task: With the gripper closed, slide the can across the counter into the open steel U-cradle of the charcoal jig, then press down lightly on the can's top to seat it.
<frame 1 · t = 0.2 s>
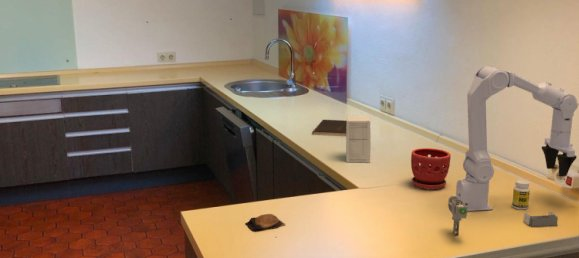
hand: (556, 172, 197), 10 cm above the worktop, tool pointing down, fingers open, 7 cm apart
mechanical component: (455, 235, 176), on the worktop
hardcover book: (334, 130, 292), on the worktop
jig: (536, 219, 185), on the worktop
beige miniature cabinet: (358, 159, 246), on the worktop
plant pot: (429, 185, 216), on the worktop
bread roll: (265, 226, 184), on the worktop
supplement bottle: (520, 207, 196), on the worktop
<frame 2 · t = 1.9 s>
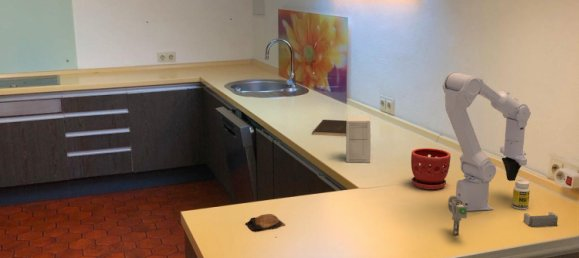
hand: (511, 180, 201), 6 cm above the worktop, tool pointing down, fingers closed
nothing on the worktop moved.
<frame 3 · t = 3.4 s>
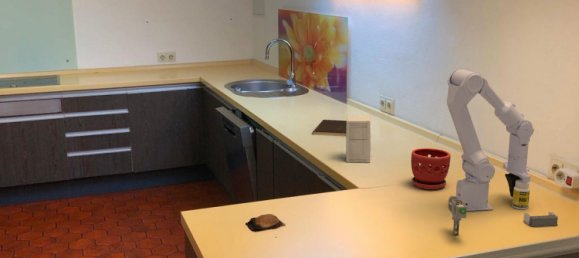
hand: (514, 196, 199), 2 cm above the worktop, tool pointing down, fingers closed
supplement bottle: (520, 207, 196), on the worktop, touching gripper
everything else where it was.
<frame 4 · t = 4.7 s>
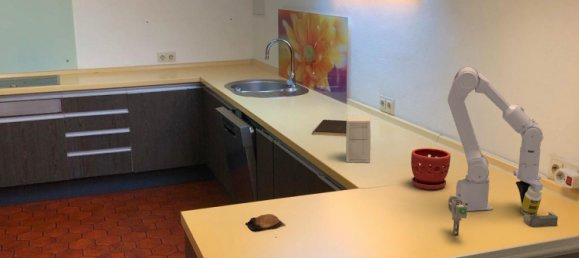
hand: (525, 204, 192), 2 cm above the worktop, tool pointing down, fingers closed
supplement bottle: (528, 211, 190), on the worktop, touching gripper
everything else where it was.
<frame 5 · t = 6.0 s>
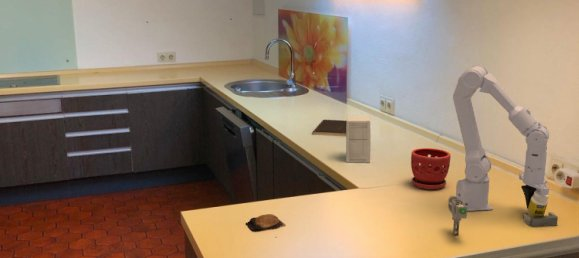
hand: (530, 209, 189), 2 cm above the worktop, tool pointing down, fingers closed
supplement bottle: (534, 216, 187), on the worktop, touching gripper
everything else where it was.
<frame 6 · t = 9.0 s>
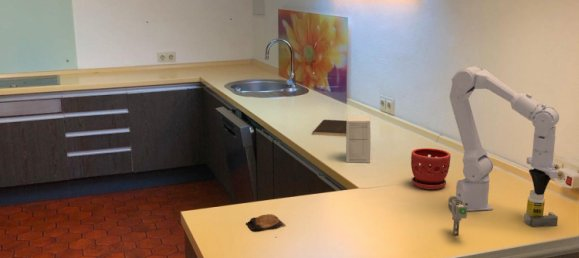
hand: (539, 194, 183), 8 cm above the worktop, tool pointing down, fingers closed, pressing on supplement bottle
supplement bottle: (534, 218, 187), on the worktop, touching gripper
everything else where it was.
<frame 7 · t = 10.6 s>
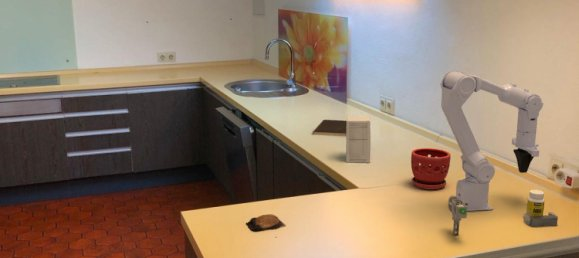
hand: (522, 172, 198), 10 cm above the worktop, tool pointing down, fingers closed
supplement bottle: (534, 218, 187), on the worktop
everything else where it was.
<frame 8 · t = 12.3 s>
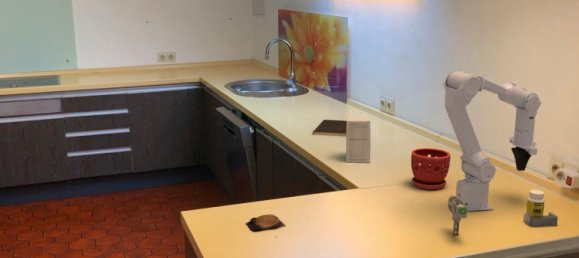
hand: (520, 170, 200), 10 cm above the worktop, tool pointing down, fingers closed
nothing on the worktop moved.
at the end: supplement bottle 1.4 cm off-centre on the jig, point 0.0 cm above the jig's base; supplement bottle tilted 0°; supplement bottle moved 9.2 cm from its start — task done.
